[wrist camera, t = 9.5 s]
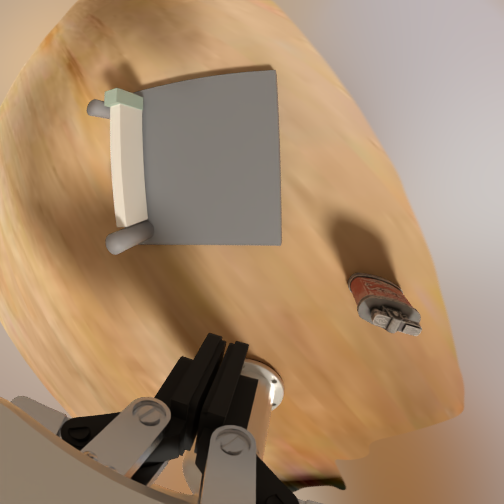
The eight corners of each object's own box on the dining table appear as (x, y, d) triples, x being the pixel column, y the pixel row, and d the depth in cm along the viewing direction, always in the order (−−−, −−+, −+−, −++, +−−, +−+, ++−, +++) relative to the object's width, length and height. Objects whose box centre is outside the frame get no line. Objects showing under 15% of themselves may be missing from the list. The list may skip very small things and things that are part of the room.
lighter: (343, 291, 35) (356, 331, 25) (353, 267, 34) (371, 302, 24) (394, 307, 34) (418, 348, 25) (405, 285, 33) (434, 322, 24)
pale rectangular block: (148, 219, 34) (122, 228, 28) (137, 219, 34) (110, 229, 29) (143, 97, 30) (116, 87, 24) (131, 100, 30) (104, 91, 24)
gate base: (281, 242, 34) (275, 266, 26) (132, 241, 38) (94, 260, 29) (276, 74, 28) (268, 43, 20) (126, 98, 32) (85, 86, 23)
